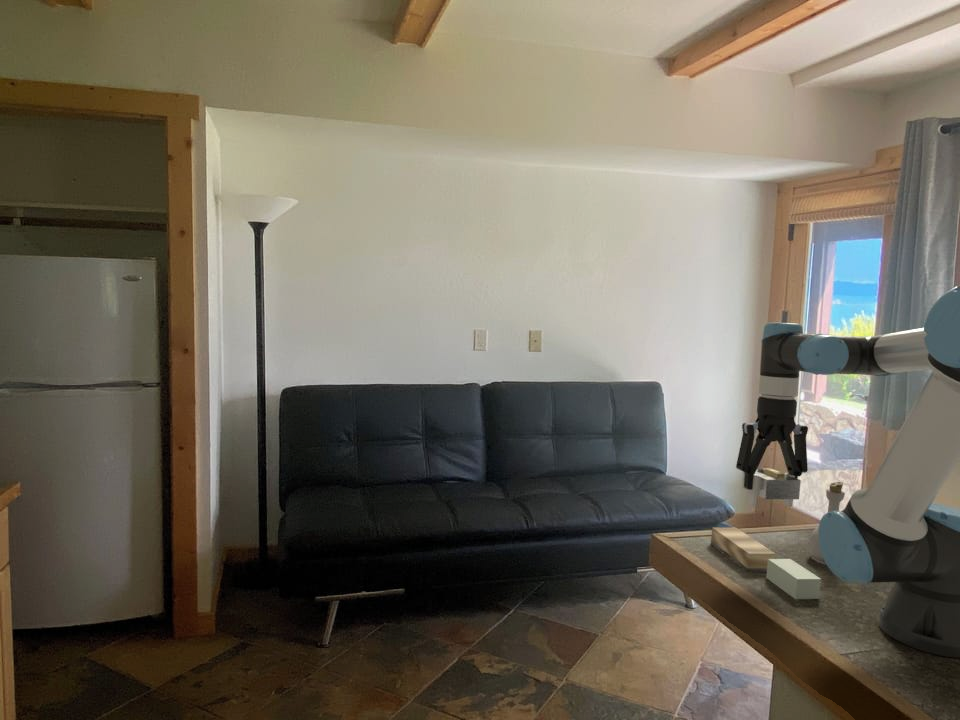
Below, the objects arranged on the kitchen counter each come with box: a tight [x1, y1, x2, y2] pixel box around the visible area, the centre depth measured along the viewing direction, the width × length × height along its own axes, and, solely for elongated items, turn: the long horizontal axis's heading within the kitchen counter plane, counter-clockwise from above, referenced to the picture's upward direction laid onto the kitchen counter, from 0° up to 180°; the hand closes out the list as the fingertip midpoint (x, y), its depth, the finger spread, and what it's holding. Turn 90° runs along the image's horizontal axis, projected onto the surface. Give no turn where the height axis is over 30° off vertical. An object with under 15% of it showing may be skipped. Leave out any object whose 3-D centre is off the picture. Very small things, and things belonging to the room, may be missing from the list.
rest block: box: [765, 558, 822, 600], centre depth 138 cm, size 10×5×4 cm, turn 9°
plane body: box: [710, 527, 776, 573], centre depth 153 cm, size 16×6×4 cm, turn 9°
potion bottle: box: [807, 481, 846, 566], centre depth 154 cm, size 9×9×18 cm
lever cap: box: [741, 467, 801, 500], centre depth 145 cm, size 9×8×5 cm
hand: (768, 504), depth 145 cm, fingers closed on lever cap, 7 cm apart
